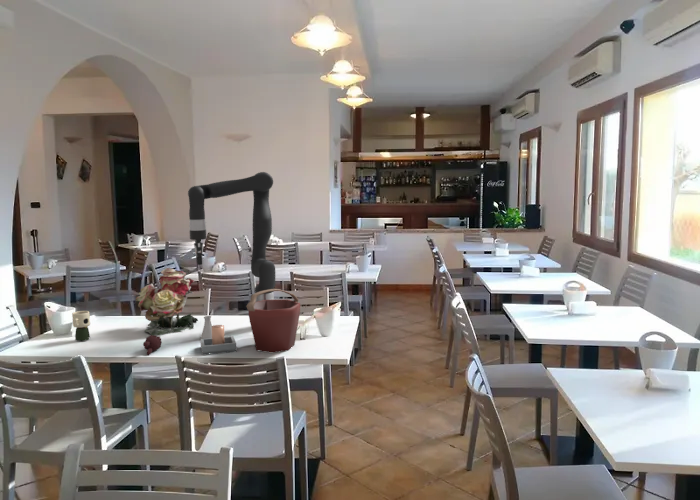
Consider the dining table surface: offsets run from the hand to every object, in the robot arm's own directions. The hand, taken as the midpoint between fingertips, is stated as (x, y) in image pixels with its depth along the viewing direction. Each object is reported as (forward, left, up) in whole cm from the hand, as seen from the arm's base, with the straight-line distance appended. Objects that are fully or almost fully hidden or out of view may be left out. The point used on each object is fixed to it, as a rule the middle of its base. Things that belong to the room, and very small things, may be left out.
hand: (199, 263), depth 269 cm
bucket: (-28, +35, -33) cm, 56 cm away
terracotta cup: (-5, +31, -32) cm, 45 cm away
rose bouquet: (+15, -13, -33) cm, 39 cm away
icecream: (+22, +23, -33) cm, 46 cm away
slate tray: (-5, +31, -33) cm, 46 cm away
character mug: (+53, -5, -33) cm, 63 cm away
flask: (-2, +11, -33) cm, 35 cm away
